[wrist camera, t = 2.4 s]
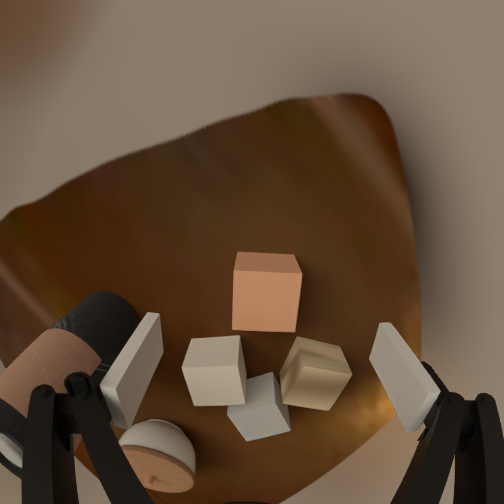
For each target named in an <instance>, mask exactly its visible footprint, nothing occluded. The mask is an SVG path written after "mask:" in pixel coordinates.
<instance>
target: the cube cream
mask: <svg viewBox="0 0 504 504" xmlns="http://www.w3.org/2000/svg"><path fill="white" fill-rule="evenodd" d="M182 371H183V374H184V377H185V380H186V383H187V386H188V389H189V392H190V395H191V398H192V401H193V404H194V406H221V405H242V404H245V399H246V368H245V362H244V356H243V350H242V345H241V339H240V335H238V336H226V337H212V338H196V339H191V342H190V345H189V347H188V350H187V353H186V356H185V359H184V362H183V365H182Z"/></svg>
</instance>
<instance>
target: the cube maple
mask: <svg viewBox="0 0 504 504" xmlns="http://www.w3.org/2000/svg"><path fill="white" fill-rule="evenodd" d="M279 374H280V383H281V392H282V401H283V404H288V405H294V406H300V407H306V408H313V409H320V410H327V411H329V410H330V408H331V407H332V405H333V404H334V402H335V401H336V399H337V398H338V396H339V395H340V393H341V392H342V390H343V389H344V387H345V386H346V384H347V383H348V381H349V380H350V378H351V376H352V373H351V370H350V368H349V366H348V363H347V361H346V359H345V357H344V354H343V352H342V350H341V348H340V346H336V345H332V344H327V343H323V342H319V341H315V340H311V339H306V338H302V337H298V336H297V337H296V339H295V341H294V343H293V346H292V348H291V350H290V352H289V354H288V356H287V358H286V360H285V362H284V364H283V366H282V368H281V370H280V372H279Z"/></svg>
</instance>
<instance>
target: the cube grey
mask: <svg viewBox="0 0 504 504" xmlns="http://www.w3.org/2000/svg"><path fill="white" fill-rule="evenodd" d="M227 416H228V417H229V418H230V420H231V421H232V422H233V424H234V425H235V426H236V428H237V429H238V431H239V432H240V433H241V435H242V436H243V437H244V438H245V440H246V441H250V440H255V439H260V438H264V437H268V436H272V435H276V434H280V433H284V432H288V431H291V428H290V420H289V412H288V404H283V401H282V392H281V387H280V385H279V383H278V381H277V379H276V377H275V375H274V373H273V372H270V373H267V374H263V375H260V376H257V377H253V378H250V379H246V399H245V404H242V405H228V411H227Z"/></svg>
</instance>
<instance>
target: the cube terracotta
mask: <svg viewBox="0 0 504 504" xmlns="http://www.w3.org/2000/svg"><path fill="white" fill-rule="evenodd" d="M301 281H302V272H301V269H300V267H299V265H298V263H297V260H296V258H295V256H294V255H289V254H270V253H251V252H238V253H237V258H236V263H235V267H234V283H233V316H232V330H248V331H271V332H295V328H296V321H297V314H298V306H299V298H300V290H301Z"/></svg>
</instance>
